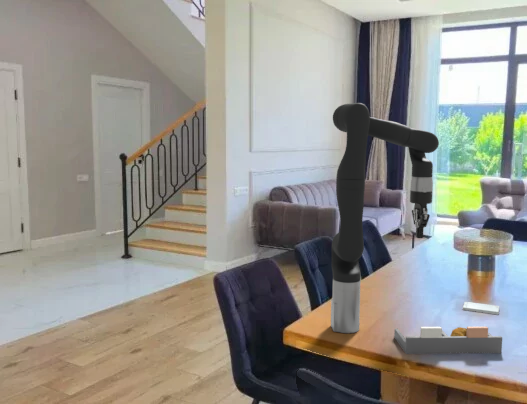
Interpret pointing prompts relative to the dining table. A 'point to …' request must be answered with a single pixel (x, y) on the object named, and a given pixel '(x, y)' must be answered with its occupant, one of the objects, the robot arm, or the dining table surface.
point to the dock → (450, 342)
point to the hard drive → (481, 308)
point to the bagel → (459, 332)
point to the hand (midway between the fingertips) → (419, 237)
